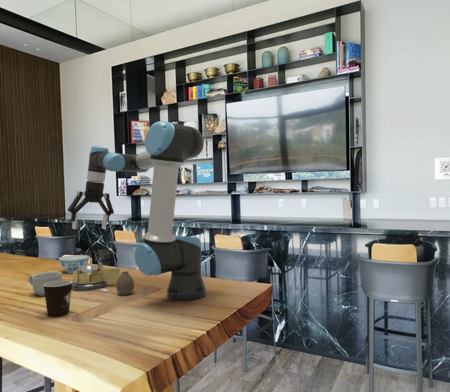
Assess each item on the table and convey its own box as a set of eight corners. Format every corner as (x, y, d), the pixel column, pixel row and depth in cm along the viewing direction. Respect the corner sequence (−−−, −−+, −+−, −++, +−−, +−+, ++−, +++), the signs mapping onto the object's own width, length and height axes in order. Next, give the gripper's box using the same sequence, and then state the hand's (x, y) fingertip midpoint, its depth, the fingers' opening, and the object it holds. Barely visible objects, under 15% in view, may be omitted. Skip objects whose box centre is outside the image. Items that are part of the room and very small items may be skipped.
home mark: (109, 291, 146) (109, 290, 146) (106, 291, 145) (106, 291, 145) (102, 289, 149) (102, 288, 149) (99, 289, 148) (99, 289, 148)
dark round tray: (104, 289, 148) (104, 268, 148) (66, 291, 146) (66, 269, 146) (110, 281, 163) (110, 262, 163) (75, 283, 161) (75, 263, 161)
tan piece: (69, 284, 148) (69, 271, 148) (80, 277, 161) (80, 266, 161) (116, 283, 149) (116, 270, 149) (124, 276, 161) (124, 265, 161)
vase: (129, 296, 137) (128, 274, 137) (112, 296, 139) (112, 273, 139) (137, 292, 144) (136, 270, 144) (121, 291, 145) (121, 270, 146)
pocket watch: (82, 279, 169) (81, 258, 169) (94, 275, 177) (94, 255, 177) (95, 280, 166) (95, 259, 166) (107, 276, 174) (107, 256, 174)
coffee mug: (53, 319, 112) (53, 288, 112) (38, 315, 116) (38, 284, 116) (85, 309, 121) (85, 280, 122) (70, 306, 126) (70, 277, 126)
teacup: (67, 292, 146) (67, 272, 146) (44, 299, 136) (44, 278, 136) (44, 288, 151) (44, 270, 152) (20, 295, 142) (20, 275, 142)
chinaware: (69, 269, 195) (69, 254, 195) (94, 269, 193) (94, 255, 193) (52, 274, 180) (52, 259, 180) (80, 275, 178) (79, 259, 178)
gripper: (117, 183, 168) (111, 227, 169) (63, 177, 150) (57, 226, 151) (125, 185, 163) (119, 230, 164) (70, 179, 145) (63, 230, 146)
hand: (89, 228), depth 158 cm, fingers open, 13 cm apart
